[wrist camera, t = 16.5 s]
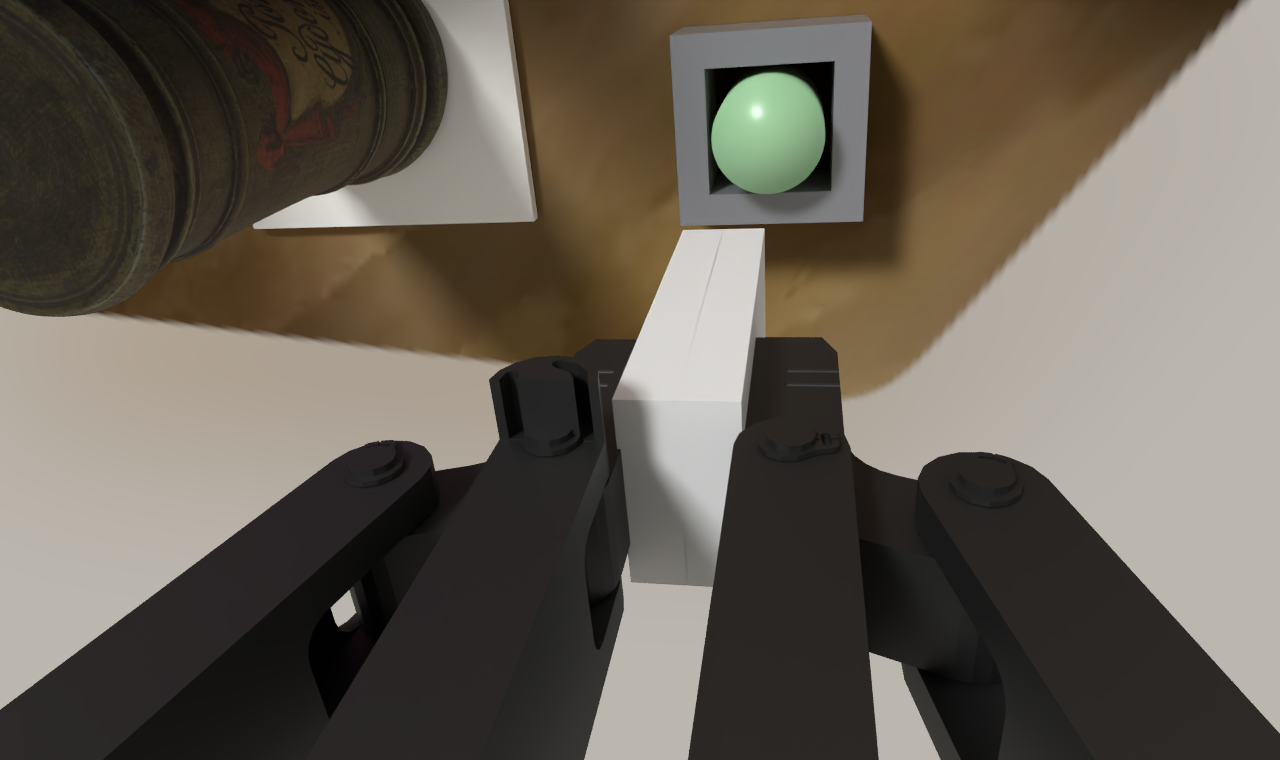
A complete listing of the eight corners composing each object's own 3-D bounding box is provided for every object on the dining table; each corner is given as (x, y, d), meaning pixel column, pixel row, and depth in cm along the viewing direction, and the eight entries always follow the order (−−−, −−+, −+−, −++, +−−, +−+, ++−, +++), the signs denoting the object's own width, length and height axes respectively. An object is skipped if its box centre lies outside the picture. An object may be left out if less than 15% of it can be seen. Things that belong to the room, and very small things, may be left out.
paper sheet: (261, 225, 40) (253, 228, 40) (163, -109, 34) (153, -110, 33) (537, 217, 37) (534, 221, 37) (488, -147, 31) (482, -149, 31)
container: (405, 209, 38) (119, 397, 22) (228, 99, 37) (-203, 212, 21) (488, 28, 33) (205, 99, 18) (290, -103, 32) (-194, -150, 17)
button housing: (691, 202, 36) (680, 225, 33) (682, 27, 33) (669, 35, 30) (858, 197, 34) (863, 221, 31) (865, 14, 31) (872, 21, 28)
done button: (724, 167, 35) (713, 195, 31) (720, 66, 33) (709, 82, 29) (821, 164, 34) (824, 192, 30) (824, 59, 32) (826, 75, 28)
